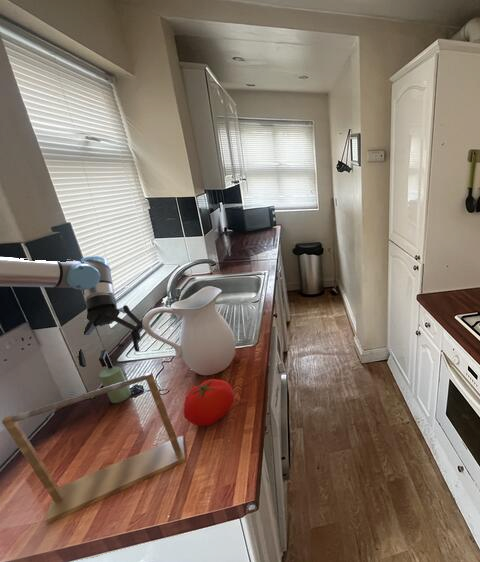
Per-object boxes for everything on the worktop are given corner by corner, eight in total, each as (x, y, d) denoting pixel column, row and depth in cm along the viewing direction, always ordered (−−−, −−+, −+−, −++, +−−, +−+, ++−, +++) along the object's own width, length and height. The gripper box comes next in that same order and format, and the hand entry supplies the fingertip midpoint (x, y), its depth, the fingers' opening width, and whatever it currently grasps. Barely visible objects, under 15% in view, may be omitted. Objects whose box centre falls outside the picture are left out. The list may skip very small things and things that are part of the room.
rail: (47, 524, 63) (-15, 437, 54) (57, 491, 69) (4, 408, 60) (186, 461, 75) (155, 381, 66) (184, 438, 82) (156, 362, 72)
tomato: (209, 397, 95) (200, 369, 91) (245, 401, 93) (238, 373, 89) (177, 432, 83) (165, 402, 79) (218, 437, 81) (208, 407, 77)
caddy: (109, 405, 93) (89, 362, 87) (111, 395, 98) (92, 353, 91) (130, 398, 96) (112, 355, 90) (131, 389, 100) (114, 347, 94)
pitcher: (229, 346, 121) (212, 281, 111) (247, 364, 110) (231, 294, 99) (159, 375, 106) (132, 303, 95) (171, 400, 95) (143, 321, 84)
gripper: (147, 294, 112) (160, 347, 106) (56, 313, 100) (63, 375, 94) (142, 285, 106) (155, 341, 100) (44, 304, 94) (51, 370, 88)
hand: (111, 358), depth 97 cm, fingers open, 13 cm apart
